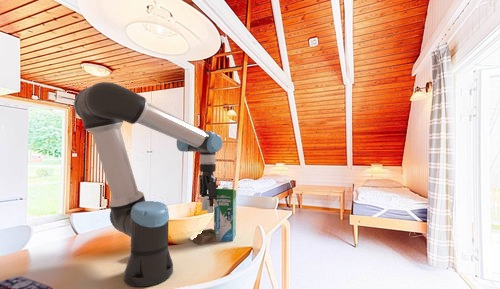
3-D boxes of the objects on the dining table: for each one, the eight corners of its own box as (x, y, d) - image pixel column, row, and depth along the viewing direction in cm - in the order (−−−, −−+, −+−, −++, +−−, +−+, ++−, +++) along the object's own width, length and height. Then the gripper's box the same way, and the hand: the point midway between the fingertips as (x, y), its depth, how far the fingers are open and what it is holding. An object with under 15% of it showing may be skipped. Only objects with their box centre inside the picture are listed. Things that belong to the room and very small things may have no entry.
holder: (198, 245, 109) (198, 239, 109) (188, 238, 117) (188, 232, 117) (224, 238, 118) (224, 232, 118) (214, 232, 125) (214, 227, 126)
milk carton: (235, 235, 123) (236, 185, 123) (232, 242, 114) (233, 189, 114) (218, 234, 124) (218, 185, 124) (213, 241, 115) (214, 188, 115)
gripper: (224, 164, 113) (224, 214, 113) (205, 162, 127) (205, 206, 127) (209, 165, 108) (209, 217, 108) (192, 162, 123) (192, 208, 122)
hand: (207, 211), depth 118 cm, fingers open, 5 cm apart
